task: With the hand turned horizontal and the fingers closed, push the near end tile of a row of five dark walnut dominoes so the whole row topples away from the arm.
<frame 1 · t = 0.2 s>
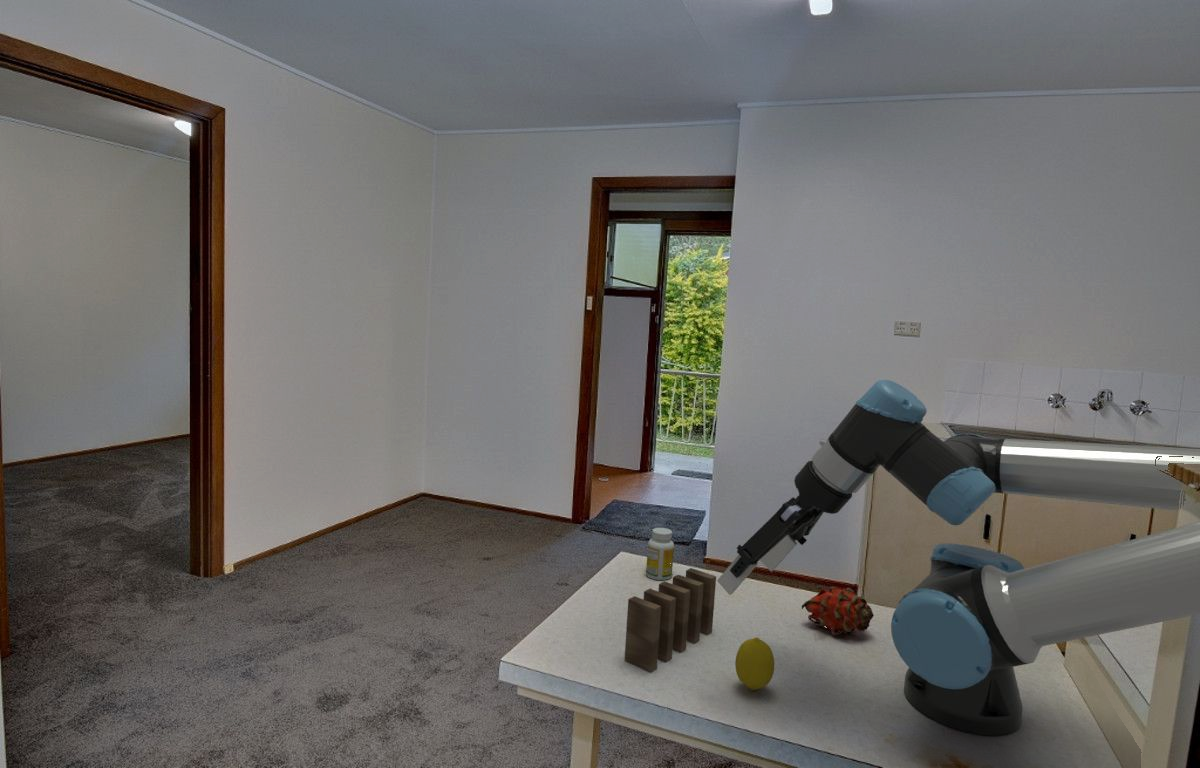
hand: (746, 575, 106), 15 cm above the table, tool tilted 35°, fingers open, 13 cm apart
dragon fruit: (835, 632, 122), on the table
domino 4: (655, 655, 110), on the table
supplement bottle: (658, 576, 143), on the table
domino 1: (696, 628, 120), on the table
lemon: (752, 691, 101), on the table
domino 2: (683, 637, 117), on the table
domino 3: (670, 645, 113), on the table
domino 5: (640, 664, 107), on the table
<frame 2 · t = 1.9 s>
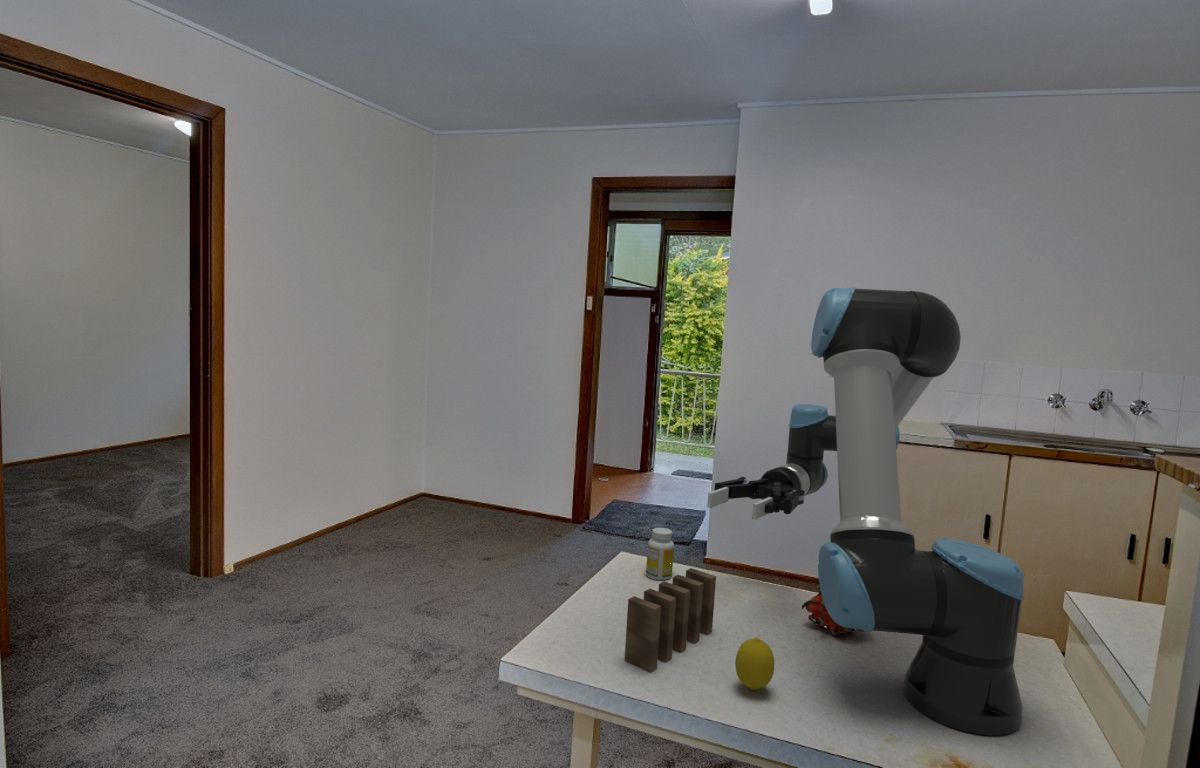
hand: (731, 505, 125), 20 cm above the table, tool horizontal, fingers open, 8 cm apart
nothing on the table moved.
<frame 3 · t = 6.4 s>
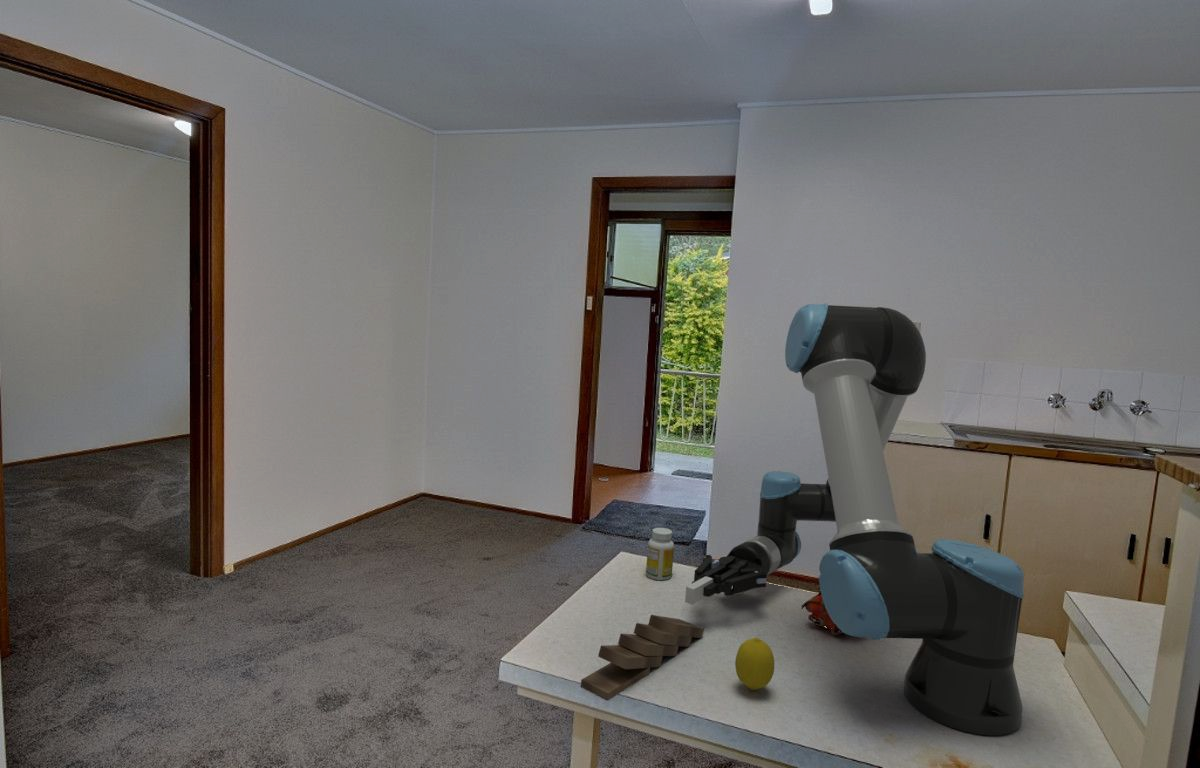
hand: (689, 595, 117), 7 cm above the table, tool horizontal, fingers closed
domino 4: (648, 655, 108), point 1 cm above the table, tilted 70°, touching domino 3
domino 1: (690, 628, 118), point 1 cm above the table, tilted 67°, touching domino 2
domino 2: (677, 636, 115), point 1 cm above the table, tilted 67°, touching domino 1, domino 3
domino 3: (664, 645, 112), point 1 cm above the table, tilted 69°, touching domino 2, domino 4
domino 5: (636, 666, 106), on the table, tilted 90°
everything else where it was.
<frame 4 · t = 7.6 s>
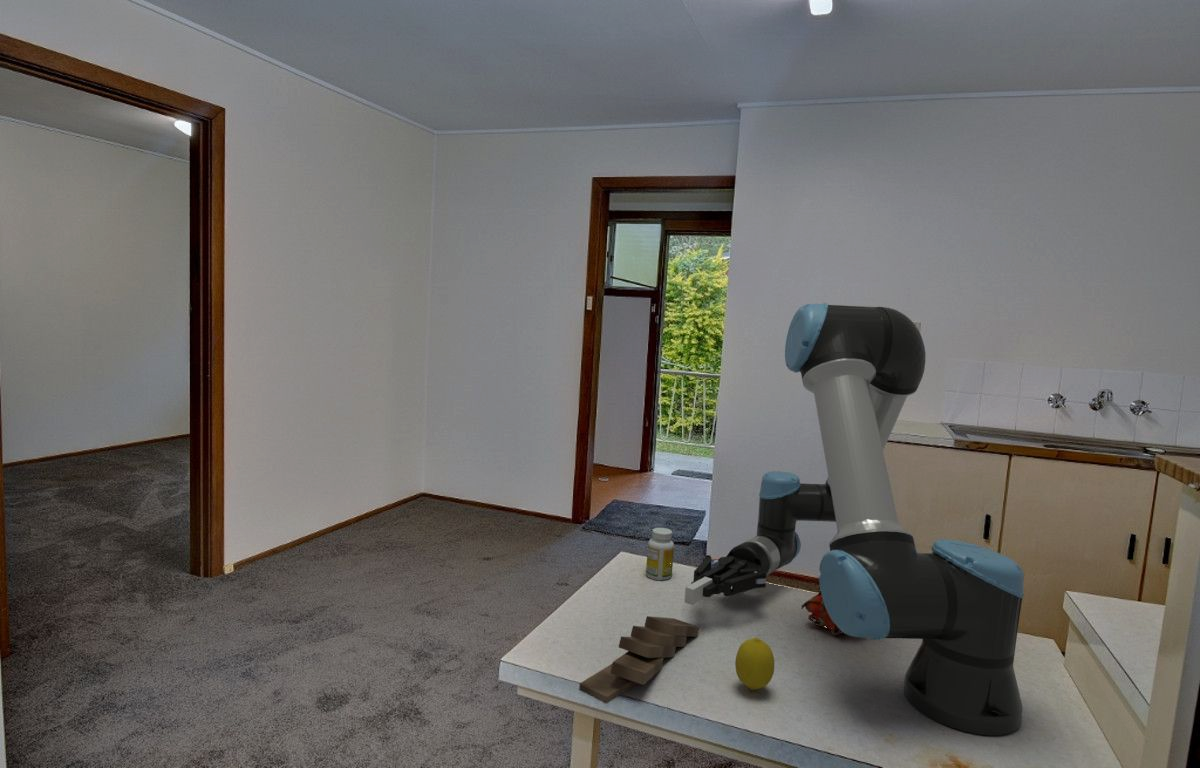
hand: (688, 596, 116), 7 cm above the table, tool horizontal, fingers closed
domino 4: (647, 658, 107), point 1 cm above the table, tilted 76°, touching domino 5
domino 2: (672, 637, 115), point 1 cm above the table, tilted 68°, touching domino 1, domino 3
domino 3: (660, 647, 111), point 1 cm above the table, tilted 68°, touching domino 2
domino 5: (634, 668, 105), on the table, tilted 90°, touching domino 4
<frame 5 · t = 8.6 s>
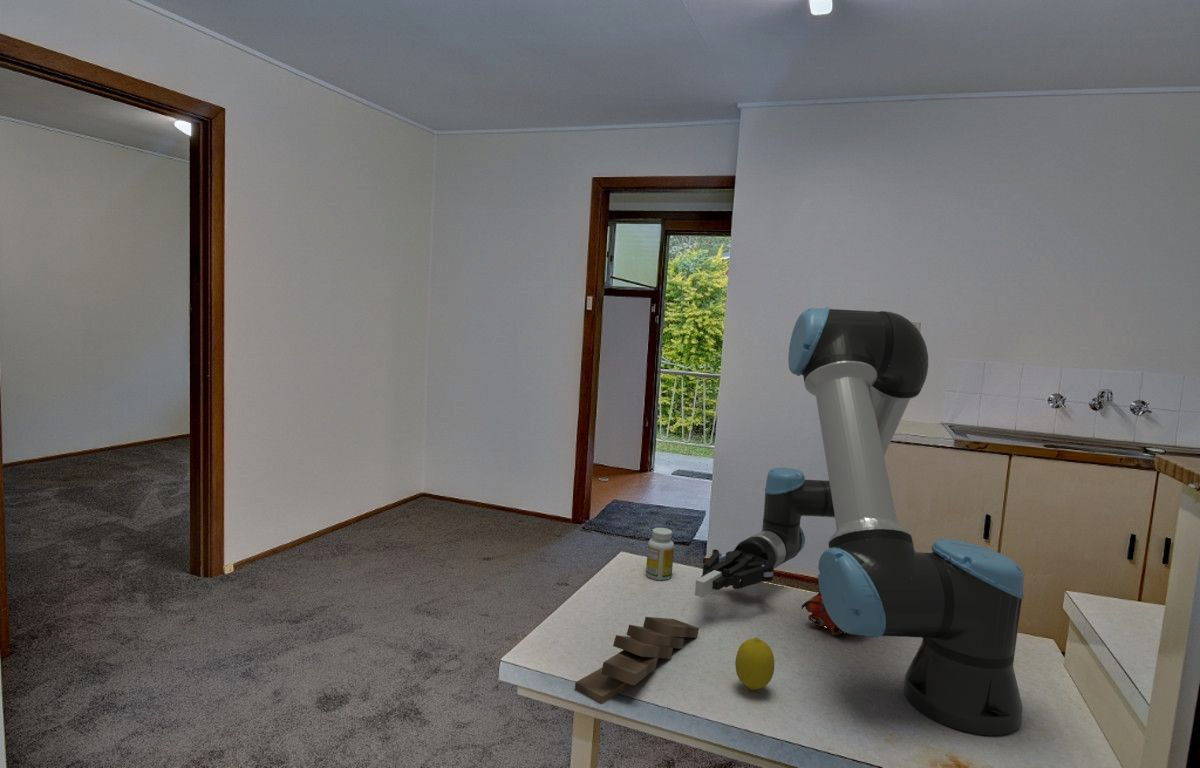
hand: (699, 588, 119), 7 cm above the table, tool horizontal, fingers closed
domino 4: (641, 658, 106), point 2 cm above the table, tilted 77°
domino 1: (685, 628, 118), point 1 cm above the table, tilted 69°
domino 2: (669, 638, 114), point 1 cm above the table, tilted 66°
domino 3: (658, 648, 110), point 1 cm above the table, tilted 66°
domino 5: (632, 669, 105), on the table, tilted 90°
everything else where it was.
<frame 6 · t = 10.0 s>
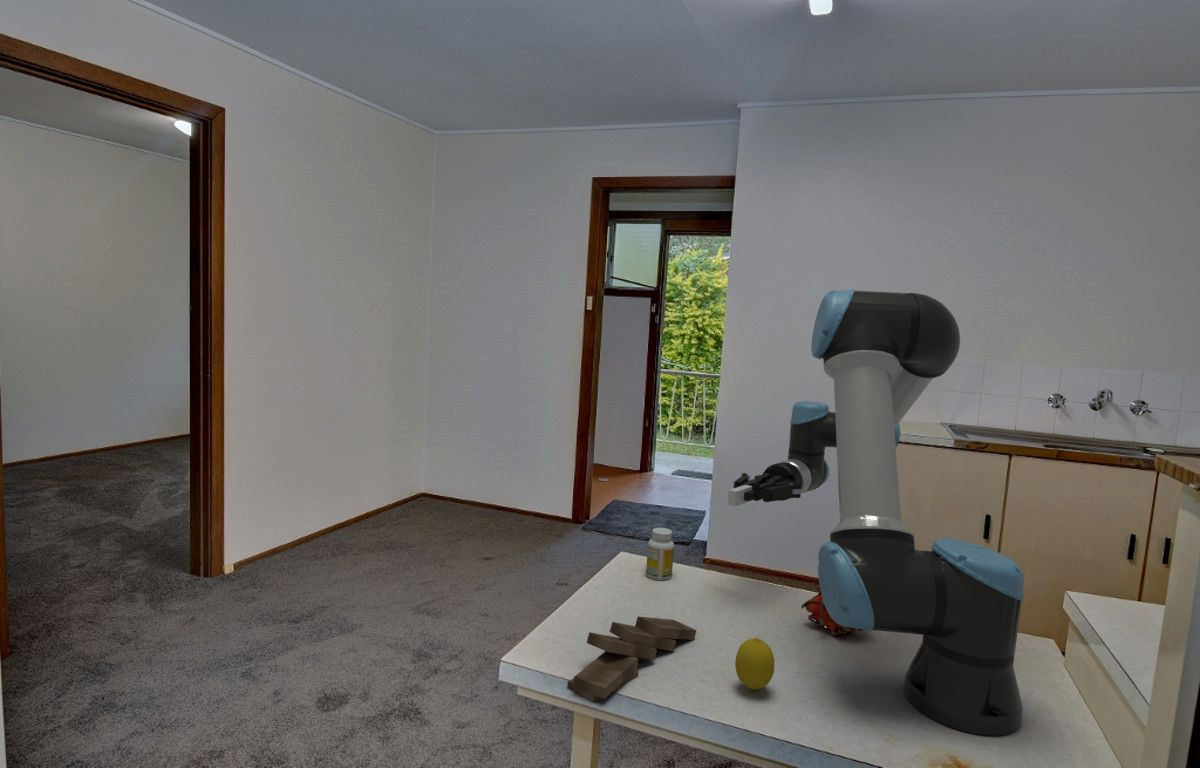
hand: (731, 498, 125), 21 cm above the table, tool horizontal, fingers closed
domino 4: (623, 658, 105), point 2 cm above the table, tilted 90°, touching domino 5
domino 2: (664, 640, 113), point 1 cm above the table, tilted 68°, touching domino 3
domino 3: (644, 650, 109), point 1 cm above the table, tilted 68°, touching domino 2
domino 5: (625, 668, 105), on the table, tilted 90°, touching domino 4
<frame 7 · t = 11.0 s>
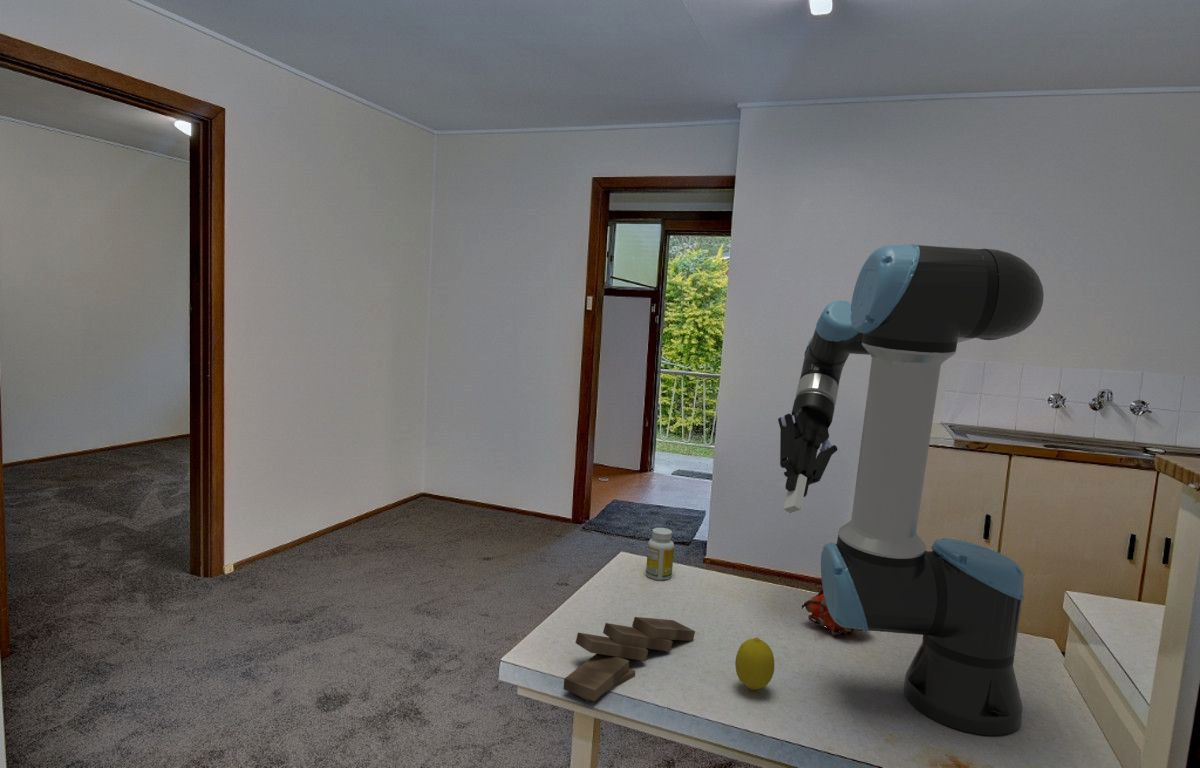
hand: (792, 509, 120), 21 cm above the table, tool tilted 45°, fingers closed
domino 4: (614, 660, 104), point 2 cm above the table, tilted 90°, touching domino 3, domino 5
domino 1: (682, 630, 117), point 1 cm above the table, tilted 72°, touching domino 2
domino 2: (662, 641, 113), point 1 cm above the table, tilted 72°, touching domino 1, domino 3
domino 3: (638, 650, 109), point 1 cm above the table, tilted 73°, touching domino 2, domino 4
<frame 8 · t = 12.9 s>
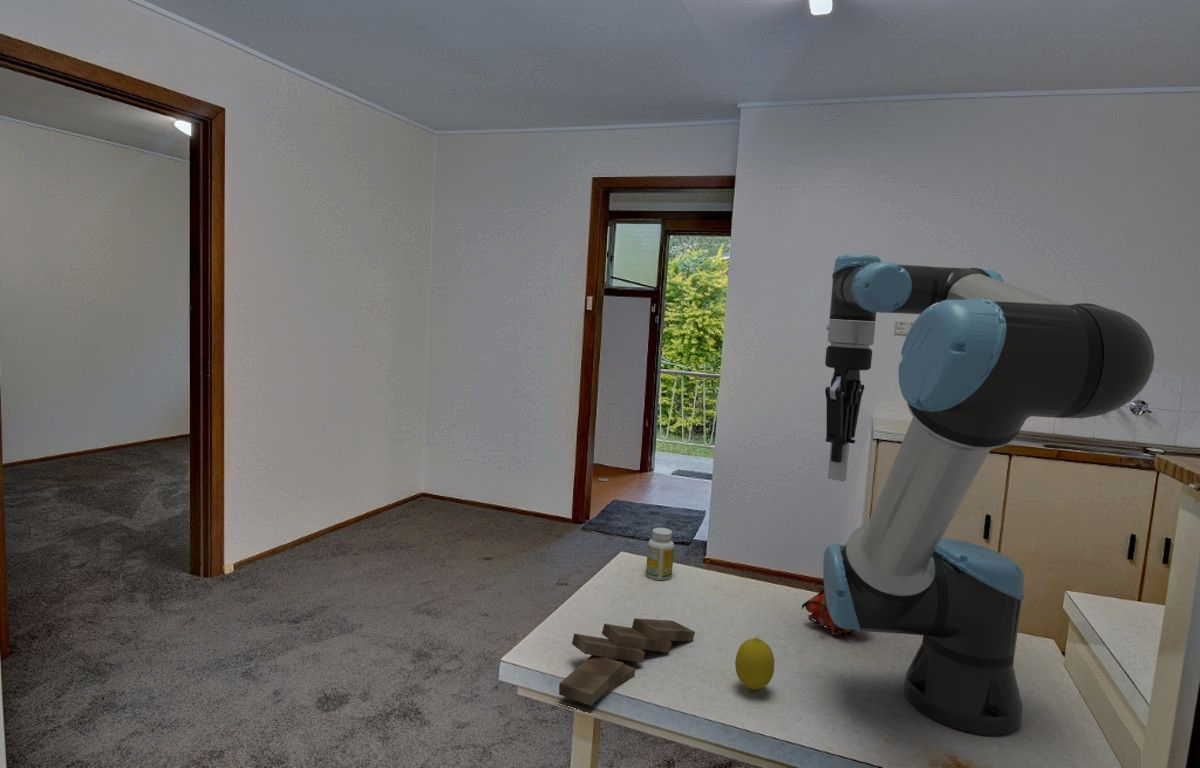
hand: (836, 479, 122), 26 cm above the table, tool pointing down, fingers closed
domino 4: (608, 663, 103), point 2 cm above the table, tilted 90°, touching domino 3, domino 5
domino 3: (636, 652, 108), point 1 cm above the table, tilted 74°, touching domino 2, domino 4
at the end: domino 5 tilted 90°; domino 1 tilted 73° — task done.
